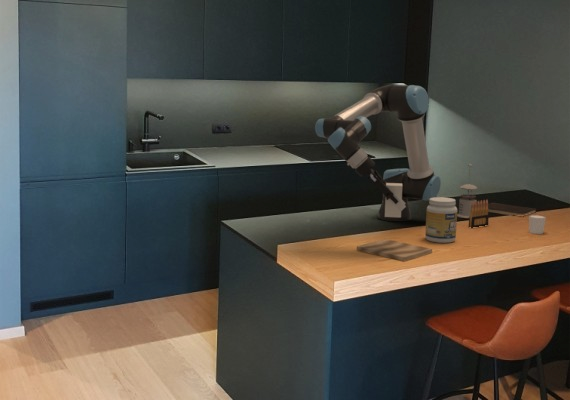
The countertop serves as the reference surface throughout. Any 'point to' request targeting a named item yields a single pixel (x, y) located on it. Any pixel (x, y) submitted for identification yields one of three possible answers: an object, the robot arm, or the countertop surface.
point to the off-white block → (389, 206)
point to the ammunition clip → (479, 214)
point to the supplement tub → (441, 220)
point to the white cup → (536, 224)
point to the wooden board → (394, 249)
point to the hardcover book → (509, 209)
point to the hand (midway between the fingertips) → (403, 207)
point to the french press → (466, 200)
